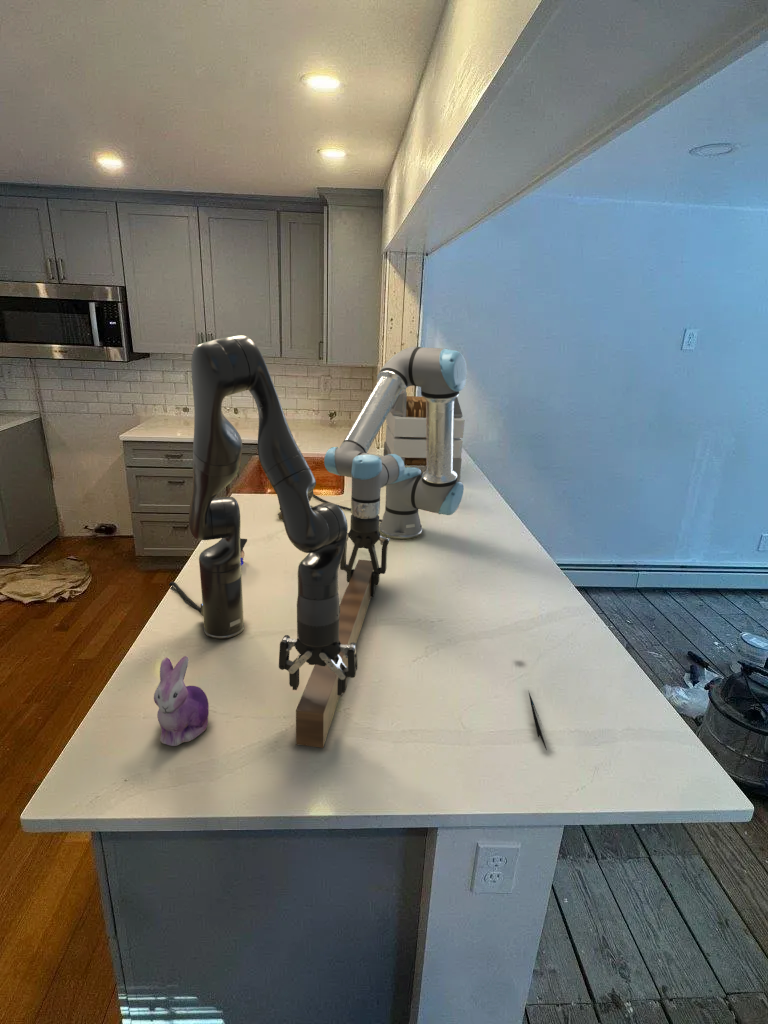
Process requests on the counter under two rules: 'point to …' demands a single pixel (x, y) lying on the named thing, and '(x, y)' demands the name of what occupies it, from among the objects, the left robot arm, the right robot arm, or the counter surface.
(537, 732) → the feather
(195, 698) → the figurine
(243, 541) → the figurine character
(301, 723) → the post
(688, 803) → the counter surface
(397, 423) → the white wooden crate
